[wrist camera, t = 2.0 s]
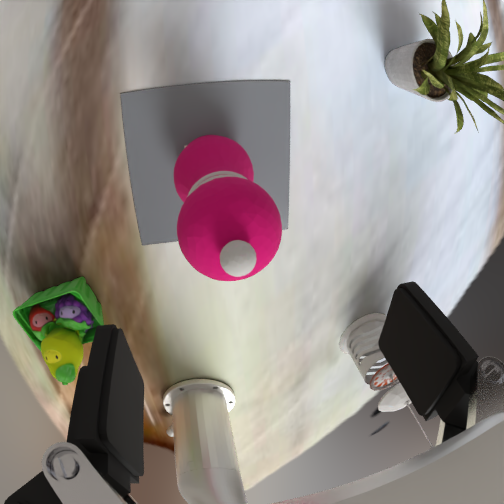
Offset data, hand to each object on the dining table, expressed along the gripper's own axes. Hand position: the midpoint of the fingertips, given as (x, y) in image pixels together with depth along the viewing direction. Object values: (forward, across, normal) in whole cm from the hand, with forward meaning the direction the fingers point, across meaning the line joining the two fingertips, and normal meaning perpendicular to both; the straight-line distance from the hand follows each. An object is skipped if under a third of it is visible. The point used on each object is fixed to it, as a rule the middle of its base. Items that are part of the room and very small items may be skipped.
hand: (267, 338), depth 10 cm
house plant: (+26, -24, -11) cm, 37 cm away
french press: (+25, -24, +30) cm, 46 cm away
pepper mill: (+25, 0, +1) cm, 25 cm away
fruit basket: (+25, +21, +17) cm, 37 cm away
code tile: (+25, 0, +1) cm, 25 cm away
